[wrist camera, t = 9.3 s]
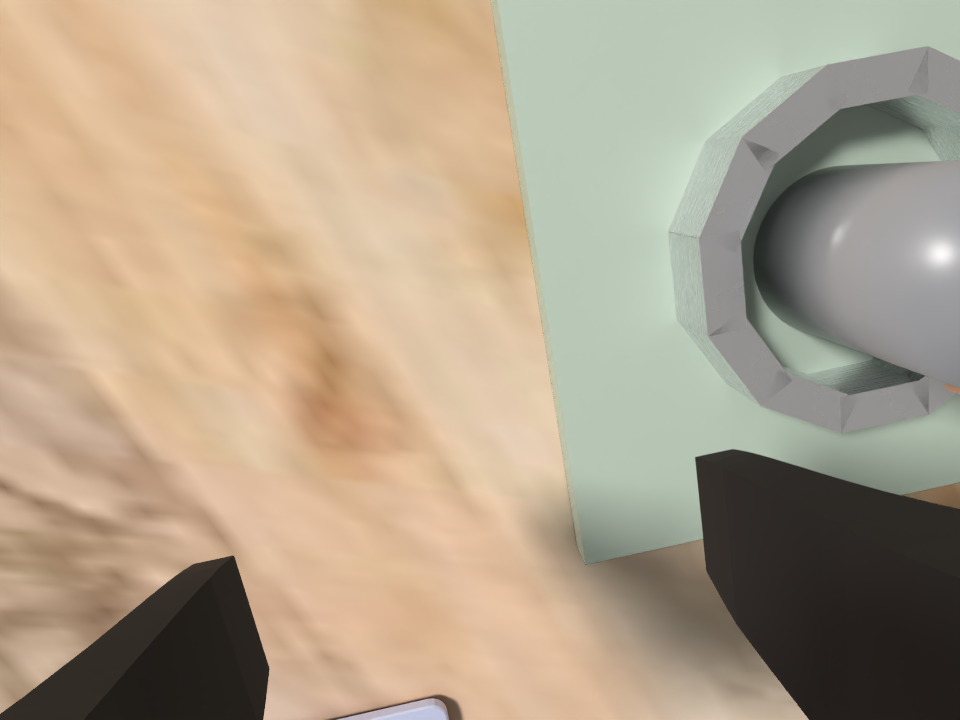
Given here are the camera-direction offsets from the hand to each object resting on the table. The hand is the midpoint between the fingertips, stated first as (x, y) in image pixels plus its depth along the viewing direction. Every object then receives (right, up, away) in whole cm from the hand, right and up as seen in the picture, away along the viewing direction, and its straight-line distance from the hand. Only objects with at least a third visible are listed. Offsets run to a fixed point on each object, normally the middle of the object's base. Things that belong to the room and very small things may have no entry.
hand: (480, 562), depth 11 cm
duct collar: (+9, +6, +9) cm, 15 cm away
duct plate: (+9, +6, +9) cm, 15 cm away
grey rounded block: (+10, +6, +8) cm, 14 cm away
